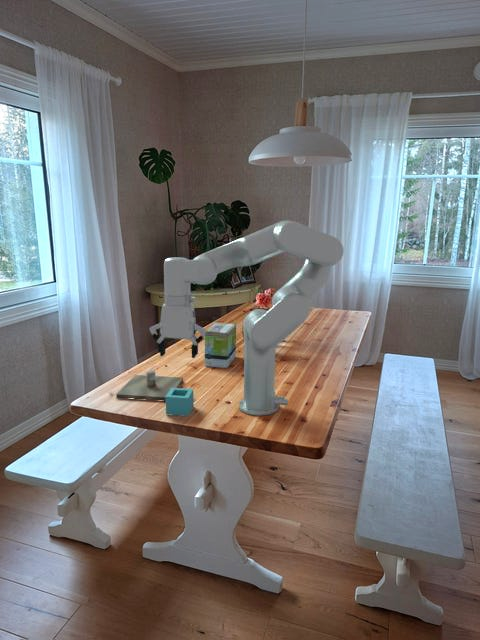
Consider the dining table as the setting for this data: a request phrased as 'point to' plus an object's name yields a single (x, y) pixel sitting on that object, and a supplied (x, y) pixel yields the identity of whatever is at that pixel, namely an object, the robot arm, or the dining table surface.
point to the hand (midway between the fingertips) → (178, 355)
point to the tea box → (220, 345)
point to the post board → (149, 392)
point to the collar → (179, 401)
